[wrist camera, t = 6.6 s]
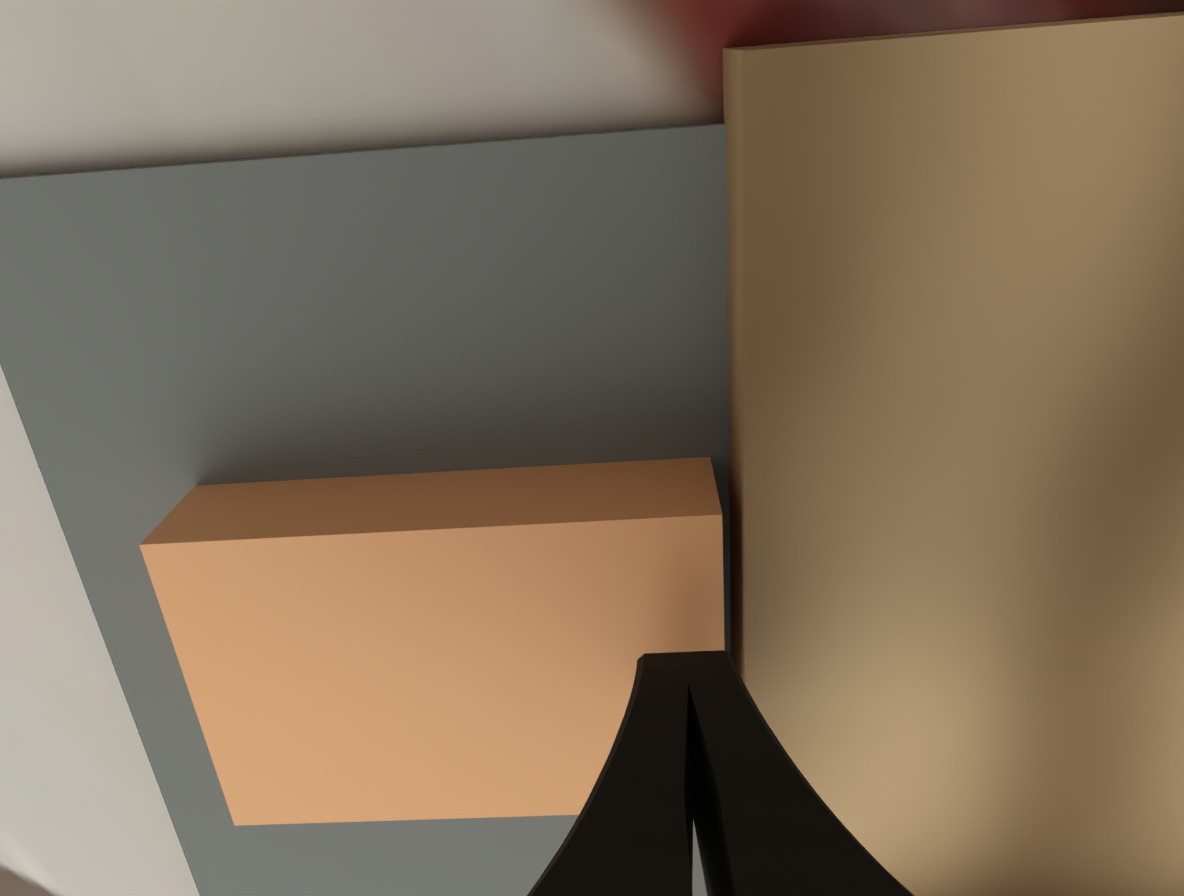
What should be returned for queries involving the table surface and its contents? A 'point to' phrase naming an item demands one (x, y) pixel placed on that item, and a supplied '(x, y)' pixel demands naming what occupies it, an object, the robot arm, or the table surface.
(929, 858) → the deck
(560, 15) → the table surface
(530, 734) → the orange rectangular block
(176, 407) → the mat
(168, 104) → the table surface
